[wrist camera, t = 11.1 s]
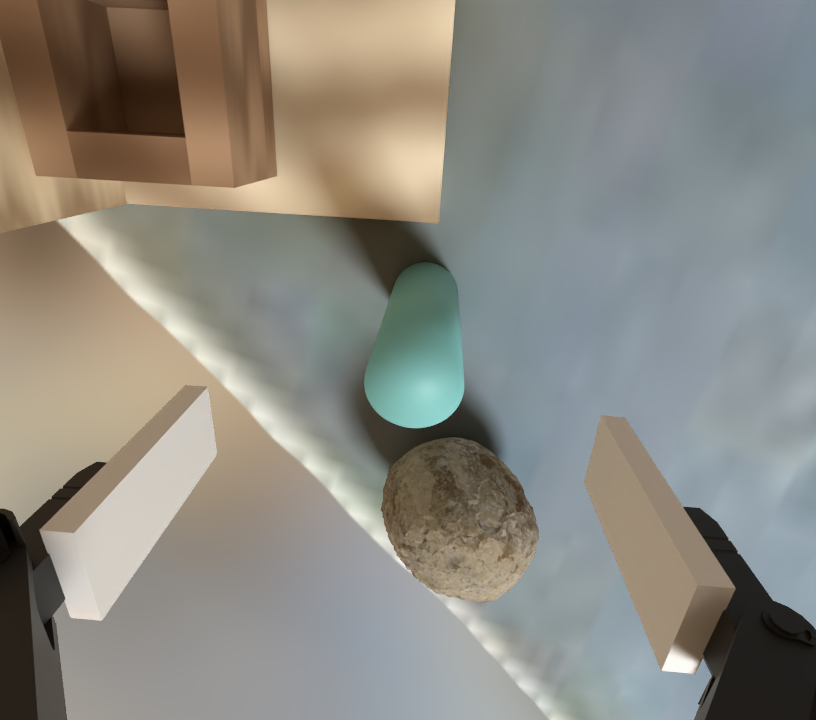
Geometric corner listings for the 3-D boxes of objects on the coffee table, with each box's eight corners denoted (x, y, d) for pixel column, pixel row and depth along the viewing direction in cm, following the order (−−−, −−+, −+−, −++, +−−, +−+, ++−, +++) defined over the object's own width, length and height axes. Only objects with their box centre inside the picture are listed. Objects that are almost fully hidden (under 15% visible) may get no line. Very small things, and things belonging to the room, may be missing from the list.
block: (78, -36, 23) (-33, -87, 18) (264, -28, 23) (208, -78, 17) (117, 166, 27) (36, 175, 22) (277, 176, 27) (234, 188, 21)
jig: (45, -82, 24) (-295, -262, 13) (460, -67, 23) (473, -245, 12) (104, 199, 29) (-98, 240, 18) (439, 220, 28) (434, 276, 17)
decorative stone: (365, 453, 36) (337, 562, 27) (453, 387, 33) (455, 484, 24) (456, 535, 39) (459, 659, 30) (544, 480, 36) (578, 599, 27)
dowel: (394, 260, 29) (364, 335, 19) (460, 264, 29) (469, 343, 18) (392, 321, 31) (363, 424, 20) (454, 326, 31) (459, 431, 20)
